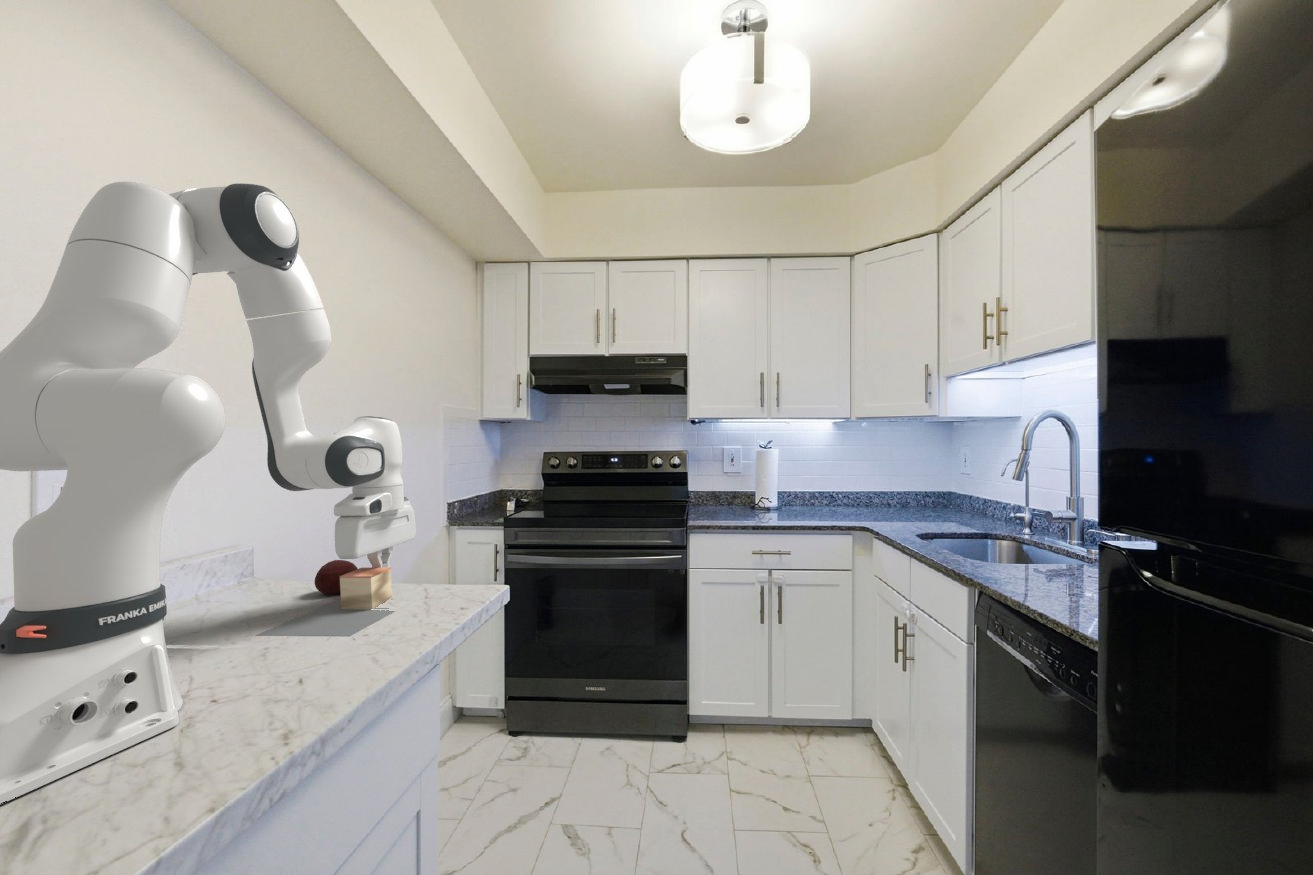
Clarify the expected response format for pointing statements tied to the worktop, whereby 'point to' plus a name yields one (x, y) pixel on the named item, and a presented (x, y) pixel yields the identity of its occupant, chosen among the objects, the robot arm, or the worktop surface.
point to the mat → (329, 622)
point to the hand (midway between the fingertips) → (381, 572)
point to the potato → (332, 576)
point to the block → (365, 588)
